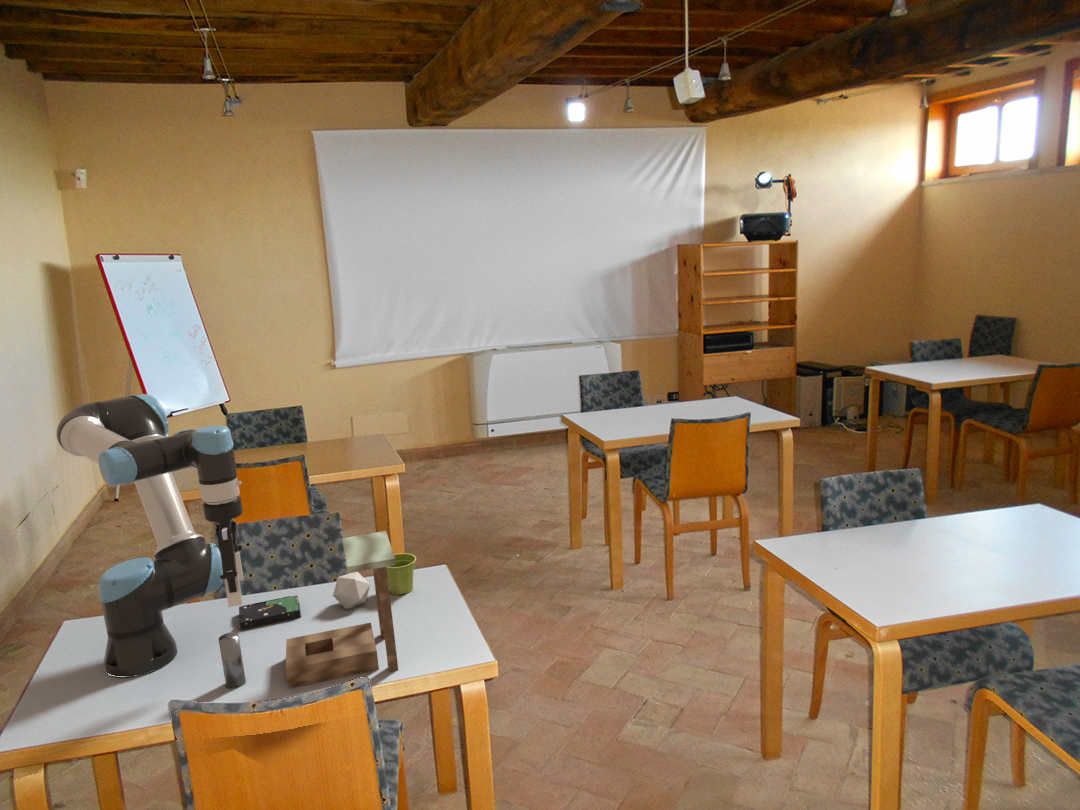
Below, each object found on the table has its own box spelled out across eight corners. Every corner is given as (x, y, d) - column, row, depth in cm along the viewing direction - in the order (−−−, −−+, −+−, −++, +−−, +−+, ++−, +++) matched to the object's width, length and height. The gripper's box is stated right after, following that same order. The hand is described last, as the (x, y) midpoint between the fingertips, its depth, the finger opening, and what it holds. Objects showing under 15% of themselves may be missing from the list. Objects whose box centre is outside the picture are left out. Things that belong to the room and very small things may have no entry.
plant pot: (426, 585, 213) (422, 555, 211) (406, 600, 205) (402, 569, 203) (397, 581, 217) (394, 551, 215) (377, 595, 209) (373, 565, 207)
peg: (225, 690, 167) (217, 643, 165) (227, 680, 171) (219, 634, 169) (245, 686, 168) (237, 639, 166) (246, 676, 172) (239, 630, 170)
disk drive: (240, 633, 194) (302, 619, 199) (238, 623, 193) (300, 608, 198) (240, 616, 203) (298, 602, 209) (238, 606, 203) (297, 593, 208)
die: (364, 595, 211) (337, 570, 208) (382, 586, 205) (355, 560, 203) (347, 619, 204) (320, 593, 202) (366, 610, 199) (338, 584, 197)
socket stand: (288, 693, 164) (271, 580, 159) (289, 653, 181) (274, 549, 176) (407, 667, 171) (395, 558, 166) (397, 631, 188) (385, 530, 183)
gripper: (239, 513, 155) (254, 612, 159) (241, 480, 178) (254, 568, 182) (198, 520, 152) (215, 620, 157) (206, 486, 175) (220, 574, 180)
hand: (236, 592), depth 169 cm, fingers open, 13 cm apart
